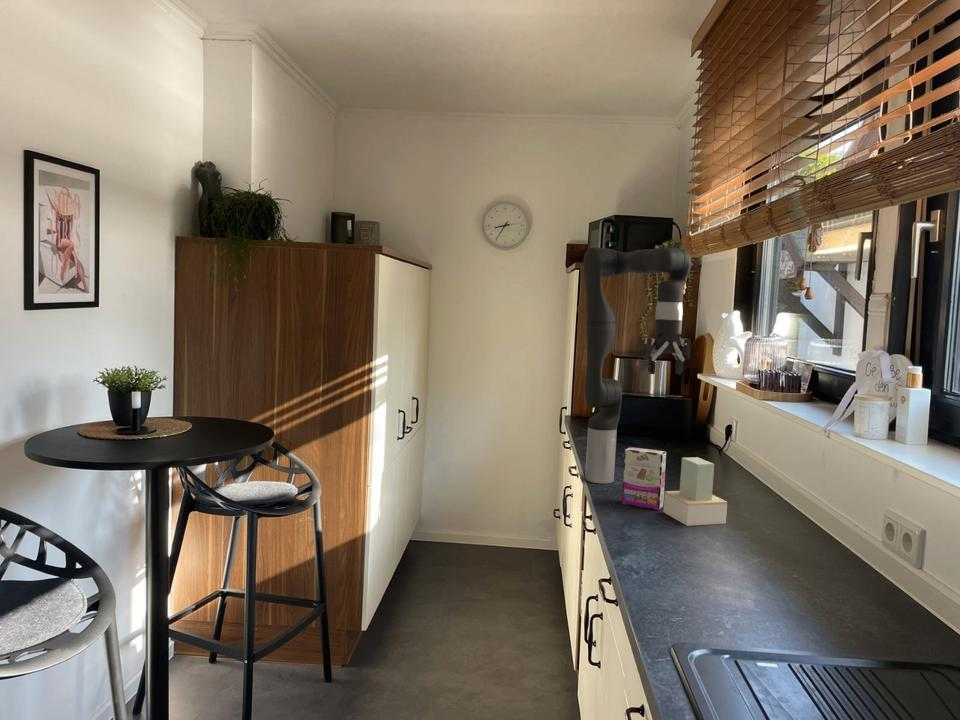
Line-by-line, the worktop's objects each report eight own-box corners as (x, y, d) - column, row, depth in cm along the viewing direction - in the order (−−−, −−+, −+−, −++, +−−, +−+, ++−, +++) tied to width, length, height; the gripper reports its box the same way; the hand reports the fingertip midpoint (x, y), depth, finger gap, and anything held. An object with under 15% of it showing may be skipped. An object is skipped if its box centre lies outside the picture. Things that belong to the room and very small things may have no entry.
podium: (663, 512, 207) (664, 491, 206) (700, 510, 210) (702, 489, 210) (686, 525, 195) (688, 503, 195) (725, 523, 199) (727, 501, 198)
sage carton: (679, 492, 205) (681, 457, 204) (695, 492, 207) (697, 457, 206) (695, 501, 198) (698, 464, 197) (711, 500, 199) (714, 464, 198)
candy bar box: (663, 506, 212) (667, 451, 211) (659, 511, 208) (663, 454, 206) (625, 500, 217) (629, 445, 216) (620, 504, 213) (624, 448, 211)
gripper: (683, 318, 217) (679, 372, 218) (640, 316, 213) (636, 372, 214) (697, 319, 210) (693, 375, 211) (653, 317, 205) (649, 375, 207)
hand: (665, 374), depth 213 cm, fingers open, 8 cm apart
